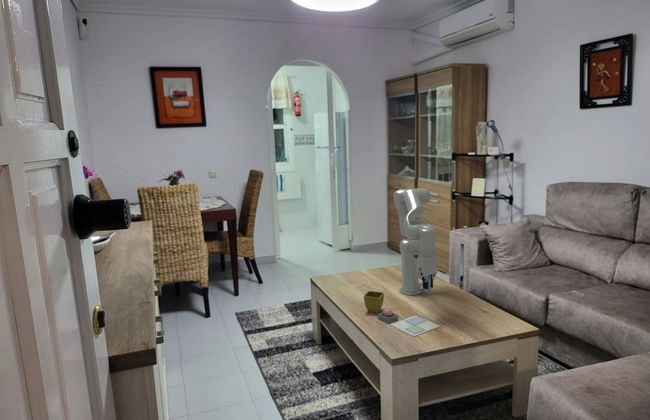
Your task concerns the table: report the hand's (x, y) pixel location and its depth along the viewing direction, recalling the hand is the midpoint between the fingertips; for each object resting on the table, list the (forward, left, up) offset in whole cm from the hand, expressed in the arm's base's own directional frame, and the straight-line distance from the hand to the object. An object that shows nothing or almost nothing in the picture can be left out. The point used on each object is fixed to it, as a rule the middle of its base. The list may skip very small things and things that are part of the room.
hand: (427, 287), depth 220 cm
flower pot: (+17, -22, -14) cm, 31 cm away
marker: (0, 0, -2) cm, 2 cm away
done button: (+19, -9, -12) cm, 24 cm away
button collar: (+19, -9, -14) cm, 25 cm away
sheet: (+15, +5, -14) cm, 21 cm away
